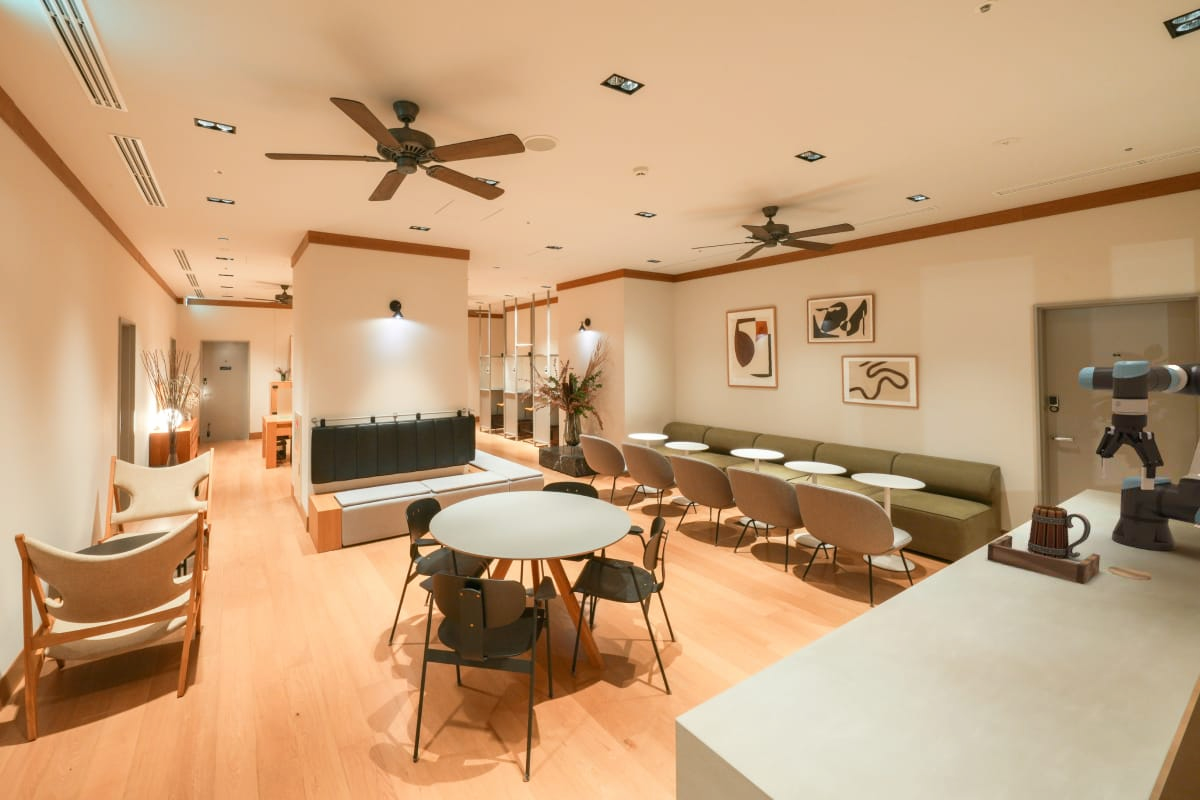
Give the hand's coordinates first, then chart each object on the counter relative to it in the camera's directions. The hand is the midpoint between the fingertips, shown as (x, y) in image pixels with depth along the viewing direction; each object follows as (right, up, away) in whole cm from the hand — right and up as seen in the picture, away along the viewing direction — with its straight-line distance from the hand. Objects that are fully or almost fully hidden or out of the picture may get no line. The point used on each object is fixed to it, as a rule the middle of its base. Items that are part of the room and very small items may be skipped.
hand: (1126, 484), depth 159 cm
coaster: (-2, -26, -3) cm, 27 cm away
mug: (-10, -25, +12) cm, 30 cm away
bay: (-22, -26, +4) cm, 34 cm away
